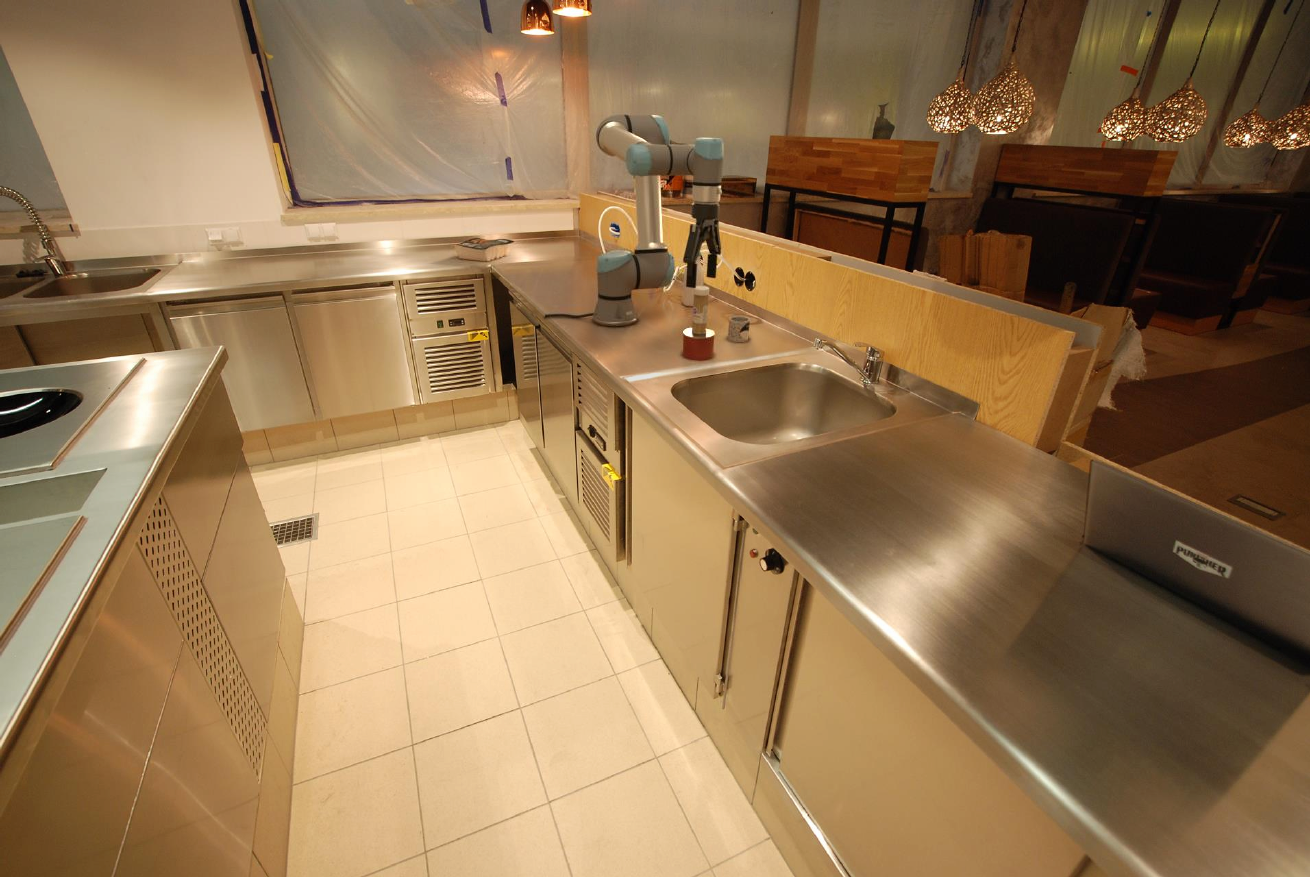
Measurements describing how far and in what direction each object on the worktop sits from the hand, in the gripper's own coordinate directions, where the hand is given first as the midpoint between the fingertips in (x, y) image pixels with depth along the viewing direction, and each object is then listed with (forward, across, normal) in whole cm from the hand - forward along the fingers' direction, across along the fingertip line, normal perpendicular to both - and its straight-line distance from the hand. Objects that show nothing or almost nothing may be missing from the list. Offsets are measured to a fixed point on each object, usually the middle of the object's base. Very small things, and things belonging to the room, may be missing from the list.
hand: (701, 282), depth 164 cm
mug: (+22, +22, -5) cm, 31 cm away
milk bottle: (+22, +50, +26) cm, 60 cm away
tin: (+22, 0, 0) cm, 22 cm away
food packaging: (+23, +73, +157) cm, 174 cm away
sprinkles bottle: (+15, 0, 0) cm, 15 cm away
